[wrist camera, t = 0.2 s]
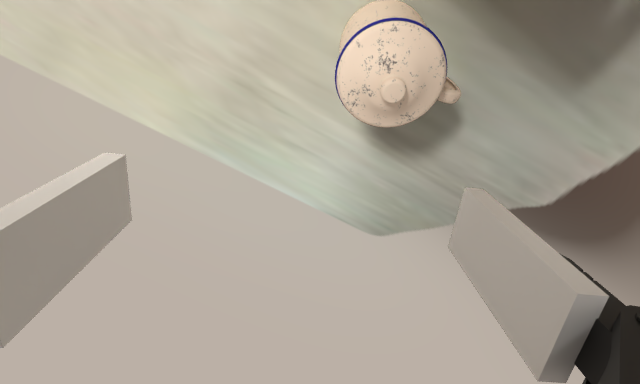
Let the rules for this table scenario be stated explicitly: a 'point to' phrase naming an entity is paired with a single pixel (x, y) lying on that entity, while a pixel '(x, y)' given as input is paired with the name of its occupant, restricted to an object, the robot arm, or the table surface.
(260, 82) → the table surface
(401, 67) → the teacup with lid
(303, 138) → the table surface
